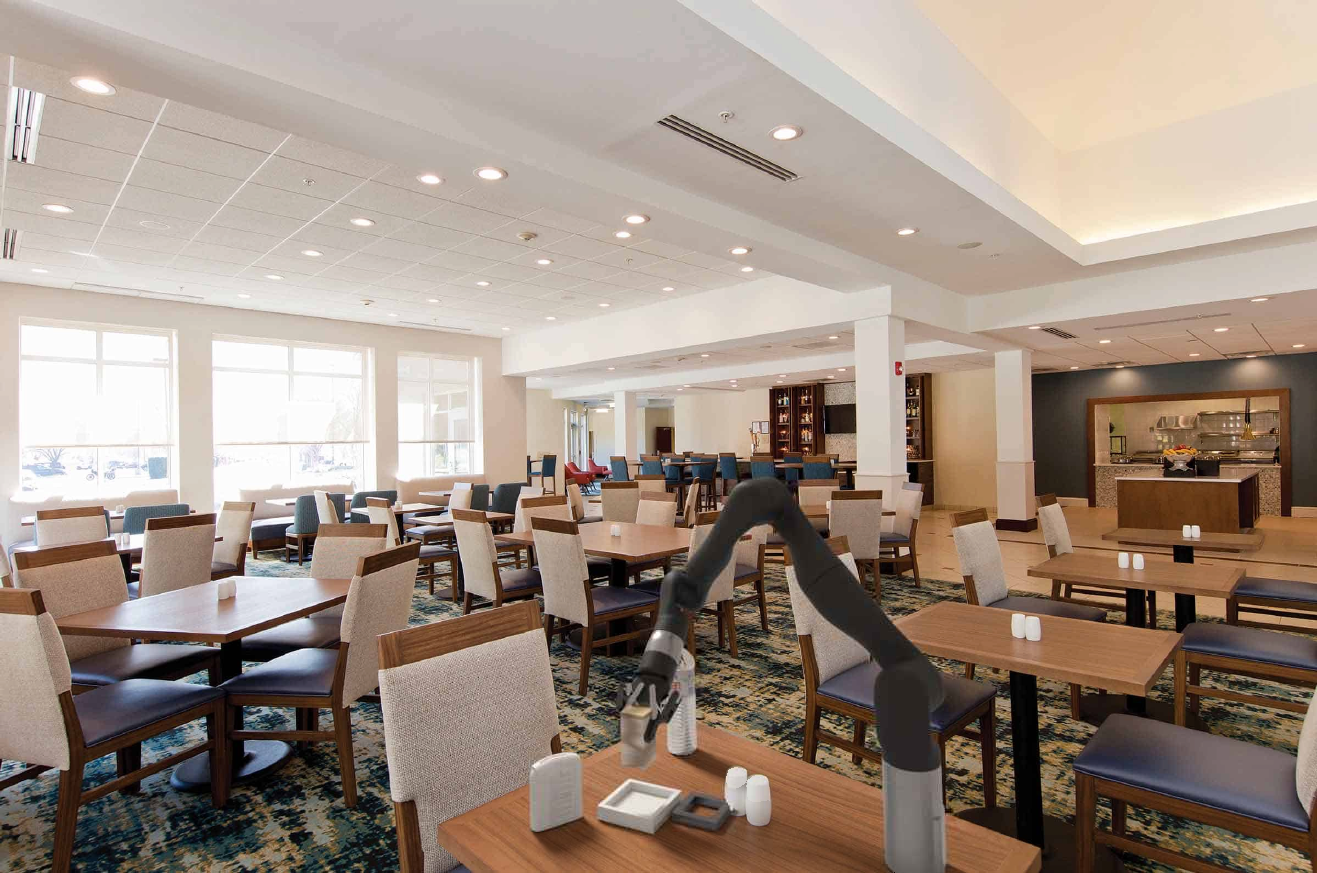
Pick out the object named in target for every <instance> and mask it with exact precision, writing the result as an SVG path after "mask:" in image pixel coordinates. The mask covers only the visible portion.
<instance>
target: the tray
mask: <svg viewBox="0 0 1317 873" xmlns="http://www.w3.org/2000/svg"><path fill="white" fill-rule="evenodd" d="M682 792H683V791H682V790H680V789H676V788H672V787H668V786H664V785H663V786H662V785H659V784H655V783H649V782H645V781H641V780H637V779H634V778H633V779H632V778H628V779H627V780H625V781H624V782H623V783H622V784H621V785H620V786H619V787H617V788H616V789H615V790H614V791H612V793H610V794H609V795H608V796H607V797H605V798H604V799H603V800H602V801H601V802H600V803H598V805H597V806H596V808H597V809H596V811H597V812H596V814H597V815H596V816H597V820H600V821H602V820H603V822H607V823H609V824H615V825H618V826H622V827H625V828H629V827H630V828H629V829H633V830H637V831H641V832H643V833H648V834H651V835H654V834H656V832H657V831H658V830H659V829H660V827H662V826H663V824H664V823H665V822H666V821H667V820H668V819H669V818H670V817H672V812H673V810H674V809H675V808H676V807H677V806H678V805H679V804H680V803H681V802H682V801H683V794H682Z"/></svg>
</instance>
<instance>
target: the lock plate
mask: <svg viewBox="0 0 1317 873" xmlns="http://www.w3.org/2000/svg"><path fill="white" fill-rule="evenodd" d="M726 799H727V798H723V797H719V796H714V795H710V794H705V793H700V792H697V791H690V793H688V795H687V796H685V798H684V799H682V802H681V803H680V804H679V805H678V806H677V807H676V808H675V809H674V810H673V812H672V815H671V821H672V822H676V823H679V824H683V825H688V826H691V827H695V828H699V829H703V830H707V831H710V832H711V831H712V832H715V833H717V831H718V830H719V829H720V828H721V826H722V825H723V824H724V822H725V821H726V819H727V818H728V817H729V816H730V815H731V813H732V812H731V810H730V806H729V805H728V803H727V802H726ZM694 805H699V806H704V807H708V808H712V809H717V811H716V812H715V814H713V816H712V817H709V816H704V815H701V814H698V813H697V814H696V813H693V812H689V811H690V810H691V809H692V808H693V807H694Z"/></svg>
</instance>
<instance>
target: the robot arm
mask: <svg viewBox="0 0 1317 873" xmlns="http://www.w3.org/2000/svg"><path fill="white" fill-rule="evenodd" d="M768 524H769V525H770V526H771V527H772V528H773V529H774V530H775V531H776V533H777V535H779V536H780V538H781V539H782V541H784V543H785V544H786V547H787V549H788V551H789V554H790V556H791V562H792V566H793V570H794V575H795V578H796V581H797V584H798V586H799V588H800V590H801V591H802V593H803V594H804V595H805V597H806V599H808V601H809V602H810V603H811V605H812V606H813V607H814V609H815V610H816V611H817V612H818V614H820V615H821V616H822V617H823V618H824V619H825V621H827V622H828V623H830V625H832V626H833V627H835V628H836V629H838V630H839V631H841V632H842V633H844V634H845V635H846V636H848V637H850V638H851V639H853V640H854V641H855V642H857V644H859V645H860V646H861V647H863V648H864V649H865V650H866V652H868V654H870V656H871V657H872V658H873V659H874V661H875V662H876V663H877V664H878V666H879V667H880V669H881V671H879V673H878V674H877V675H876V677H875V679H874V685H873V707H874V708H873V709H874V722H875V732H876V733H875V734H876V739H877V741H878V742H877V743H878V744H879V746H880V749H881V768H882V769H881V770H882V772H881V774H882V798H883V799H882V800H883V801H882V802H883V803H882V804H883V831H884V832H883V833H884V859H885V860H884V861H885V864H887V865H888V866H887V865H886V866H887V868H888V867H889V868H890V869H891V870H892V871H893V872H892V871H891V870H890V869H889V868H888V869H889V870H890V871H891V872H892V873H894V872H895V873H946V869H947V843H946V840H947V839H946V837H947V836H946V815H945V814H946V813H945V812H946V811H945V810H946V809H945V805H944V804H943V802H944V801H943V781H942V780H943V779H942V752H941V746H940V745H939V743H938V742H937V741H936V740H934V739H933V738H932V731H931V730H932V729H931V713H933V712H934V711H935V710H937V709H938V708H939V707H940V706H941V705H942V703H944V701H945V698H946V692H947V690H946V685H945V681H944V679H943V676H942V674H941V672H940V671H939V669H938V668H937V667H936V666H935V664H933V662H932V661H931V660H930V659H929V658H928V657H927V656H926V655H925V654H924V653H923V652H922V651H921V650H920V649H919V648H918V647H917V646H916V645H915V644H914V643H913V642H912V641H911V640H910V639H909V638H908V637H907V636H905V634H904V633H903V632H902V631H901V630H900V629H899V628H898V627H897V626H896V625H895V624H894V623H893V621H892V620H891V619H890V618H889V617H888V615H886V613H885V612H884V610H883V609H882V608H881V607H880V605H879V604H878V603H877V602H876V601H875V600H874V598H873V597H872V596H871V595H870V593H868V592H867V590H866V589H865V587H864V586H863V585H862V584H861V582H860V581H859V579H858V578H857V577H856V576H855V574H854V573H853V572H851V570H850V569H849V568H848V567H847V565H846V564H845V563H844V562H843V561H842V560H841V558H840V557H839V556H838V555H837V554H836V553H835V552H834V551H833V549H832V547H830V545H829V544H828V543H827V542H826V540H825V539H824V538H823V537H822V535H821V534H820V533H819V532H818V531H817V529H816V528H815V526H814V525H813V524H812V523H811V521H810V520H809V519H808V517H807V516H806V514H805V513H804V511H803V510H802V508H801V507H800V505H799V503H798V501H796V499H795V497H794V496H793V494H792V493H791V491H790V490H789V489H788V488H787V487H786V485H785V484H783V483H782V482H781V480H779V479H777V478H775V477H772V476H771V477H770V476H763V477H759V478H752V479H747V480H743V481H741V482H740V483H737V485H735V486H734V488H733V489H732V490H731V492H730V494H729V496H728V498H727V500H725V503H724V506H723V507H722V509H721V511H720V513H719V515H718V516H717V519H716V520H715V522H714V524H713V526H712V528H711V530H710V531H709V533H708V535H707V536H706V537H705V539H704V540H703V542H702V543H701V544H700V546H699V547H698V548H697V549H696V550H695V552H694V553H693V554H692V555H691V557H690V558H689V559H688V561H687V562H686V564H685V567H684V568H685V570H684V571H685V573H683V572H682V571H680V570H675V569H674V570H671V571H670V572H667V574H666V575H665V576H664V577H663V580H661V585H660V593H659V595H660V596H659V610H658V616H657V620H656V622H655V625H654V627H653V631H652V633H651V636H650V637H649V639H648V642H647V644H646V647H645V649H644V653H643V655H642V656H641V661H640V662H639V666H638V669H637V673H636V677H635V678H634V680H633V681H632V682H630V683H625V682H624V681H620V682H619V683H618V686H617V693H616V702H615V710H616V711H617V712H618V713H619V714H620V712H621V711H623V710H624V709H626V708H627V707H629V706H633V705H636V704H639V705H644V706H650V708H651V709H652V712H651V720H649V722H648V725H647V728H646V731H645V734H644V741H645V742H646V743H650V742H651V741H653V739H654V738H655V735H656V736H657V730H658V728H659V726H660V725H661V724H665V725H667V724H668V723H669V722H670V720H671V719H672V717H673V715H674V713H675V712H676V710H677V708H678V706H679V704H680V703H681V701H682V697H681V695H680V693H679V692H678V691H677V690H675V691H673V690H671V685H672V683H673V680H674V677H675V674H676V671H677V668H678V664H679V662H680V658H681V655H682V650H683V648H684V646H683V645H685V641H686V639H687V635H688V631H689V629H690V619H689V618H688V616H687V615H686V614H684V612H683V611H681V609H682V610H684V611H685V612H688V613H692V614H693V613H697V612H699V611H701V610H702V609H703V608H704V606H705V604H706V602H707V599H708V595H709V593H710V590H711V587H712V586H713V584H714V582H715V581H716V580H717V578H719V576H720V575H721V574H722V573H723V571H725V569H726V568H727V567H728V565H729V563H730V561H731V559H732V557H733V552H734V548H735V545H736V543H737V542H738V540H739V539H741V537H743V536H744V535H745V534H746V533H747V532H749V531H750V530H751V529H753V528H754V527H757V528H758V527H761V526H765V525H768ZM679 608H680V609H679ZM631 691H632V692H633V693H632V694H631ZM630 694H631V696H630ZM628 696H630V697H629V698H628ZM668 696H669V697H668ZM667 697H668V702H667V701H666V703H665V705H664V707H663V706H662V704H663V702H664V701H665V700H666V698H667ZM662 707H663V709H662ZM616 730H617V734H618V736H619V737H620V738H621V718H620V720H619V722H618V726H617V729H616ZM945 868H946V869H945Z"/></svg>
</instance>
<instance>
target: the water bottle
mask: <svg viewBox="0 0 1317 873" xmlns="http://www.w3.org/2000/svg"><path fill="white" fill-rule="evenodd" d="M684 645H685V644H684ZM684 645H683V650H682V655H681V658H680V662H679V664H678V668H677V671H676V674H675V677H674V680H673V683H672V685H671V690H673V691H675V690H677V691H678V692H679V693H680V695H681V697H682V701H681V703H680V704H679V706H678V708H677V710H676V712H675V713H674V715H673V717H672V719H671V720H670V722H669V723H668V724H666V729H667V730H666V734H667V735H666V736H667V737H666V738H667V750H668V752H669V753H670V754H672V755H674V754H676V755H675V756H679V755H685V756H689V755H688V754H690V755H692V754H693V752H694V751H695V750H696V751H697V748H698V747H697V746H698V745H697V740H698V739H697V737H698V736H697V710H696V709H697V706H696V705H697V704H696V703H697V702H696V700H697V699H696V697H697V696H696V685H695V684H696V682H695V679H696V678H695V664H696V663H695V658H694V656H693V655H692V654H691V652H690V651H689V650H687V649H686V648H684ZM668 697H669V696H668ZM668 697H667V698H666V699H665V700H666V703H667V702H668ZM696 751H695V752H696ZM695 752H694V753H695ZM691 753H692V754H691Z"/></svg>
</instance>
